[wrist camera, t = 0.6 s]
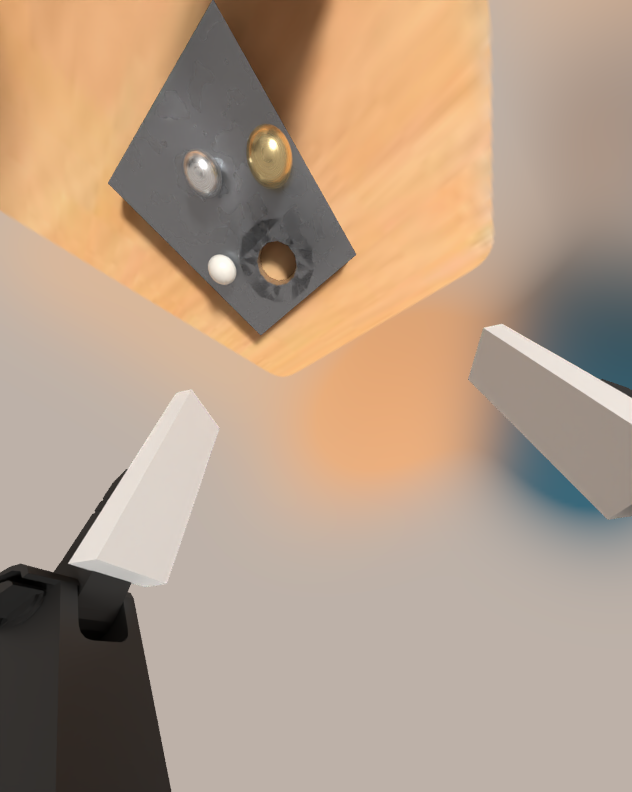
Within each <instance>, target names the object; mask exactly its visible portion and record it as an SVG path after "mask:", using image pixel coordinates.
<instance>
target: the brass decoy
mask: <svg viewBox="0 0 632 792" xmlns="http://www.w3.org/2000/svg"><path fill="white" fill-rule="evenodd" d="M246 157H247V163H248V166H249V169H250V171H251V173H252V175H253V177H254V178H255V180H256V181H257V182H258V183H259V184H260V185H262V186H263V187H265V188H268V189H277V188H280V187H281V186H283V185H284V184H285V183H286V182H287V180H288V178H289V176H290V174H291V170H292V152H291V148H290V145H289V142H288V140H287V138H286V137H285V135H284V134H283V132H282V131H281V130H280V129H279V128H277V127H276V126H274V125H271V124H261V125H259V126H257V127H256V128H254V130H253V131H252V132H251V134H250V136H249V138H248V141H247V147H246Z"/></svg>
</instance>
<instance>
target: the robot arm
mask: <svg viewBox="0 0 632 792" xmlns="http://www.w3.org/2000/svg"><path fill="white" fill-rule="evenodd" d="M468 380H469V381H470V382H471V383H472V384H473V385H474V386H475V387H476V388H477V389H478V390H479V391H480V392H481V393H482V394H483V395H484V396H485V397H486V398H487V399H488V400H489V401H490V402H491V403H492V404H493V405H494V406H495V407H496V408H497V409H498V410H499V411H500V412H501V413H502V414H503V415H504V416H505V417H506V418H507V419H508V420H509V421H510V422H511V423H512V424H513V425H514V426H515V427H516V428H517V429H518V430H519V431H520V432H521V433H522V434H523V435H524V436H525V437H526V438H527V439H528V440H529V441H530V442H531V443H533V445H534V446H535V447H536V448H537V449H538V450H539V451H540V452H541V453H542V454H543V455H544V456H545V457H546V458H547V459H548V460H549V461H550V462H551V463H552V464H553V465H554V466H555V467H556V468H557V469H558V470H559V471H560V472H561V473H562V474H563V475H564V476H565V477H566V478H567V479H568V480H569V481H570V482H571V483H572V484H573V485H574V486H575V487H576V488H577V489H578V490H579V491H580V492H581V493H582V494H583V495H584V496H585V497H586V498H587V499H588V500H589V501H590V502H591V503H592V504H593V505H594V506H595V507H596V508H597V509H598V510H599V511H600V512H601V513H602V514H603V515H604V516H605V517H606V518H607V519H615V518H622V517H628V516H632V390H630V389H629V388H626V387H623V386H621V385H618V384H615V383H612V382H609V381H606V380H603V379H601V380H599V379H597V378H596V377H594V376H592V375H591V374H589V373H587V372H585V371H584V370H582V369H580V368H578V367H577V366H575V365H573V364H571V363H570V362H568V361H566V360H564V359H563V358H561V357H559V356H557V355H556V354H554V353H552V352H550V351H549V350H547V349H545V348H543V347H542V346H540V345H538V344H536V343H534V342H533V341H531V340H529V339H527V338H525V337H524V336H522V335H521V334H519V333H517V332H515V331H514V330H512V329H510V328H508V327H507V326H505V325H503V324H500V325H494V326H490V327H485V328H483V331H482V334H481V337H480V341H479V344H478V347H477V351H476V354H475V358H474V361H473V365H472V368H471V371H470V375H469V379H468ZM218 431H219V427H218V425H217V424H216V422H215V421H214V420H213V418H212V417H211V416H210V414H209V413H208V411H207V410H206V409H205V407H204V406H203V404H202V403H201V402H200V400H199V399H198V397H197V396H196V395H195V393H194V392H193V390H192V389H191V390H186V391H182V392H177V393H176V394H175V396H174V397H173V399H172V400H171V402H170V403H169V405H168V407H167V408H166V410H165V411H164V413H163V415H162V416H161V418H160V419H159V421H158V422H157V424H156V426H155V427H154V429H153V430H152V432H151V434H150V435H149V437H148V438H147V440H146V441H145V443H144V445H143V446H142V448H141V449H140V451H139V452H138V454H137V456H136V457H135V459H134V460H133V462H132V463H131V465H130V467H129V468H128V469H126V470H125V471H124V472H123V473H122V474H121V475H120V476H119V477H118V478H117V479H116V480H115V481H114V483H112V485H111V487H110V488H109V490H108V491H107V493H106V494H105V496H104V498H103V501H101V502H100V503H99V505H98V506H97V508H96V509H95V513H94V514H92V516H91V517H90V519H89V520H88V522H87V523H86V525H85V526H84V528H83V529H82V531H81V532H80V534H79V535H78V537H77V539H76V540H75V542H74V543H73V544H72V546H71V547H70V549H69V551H68V552H67V554H66V555H65V557H64V558H63V560H62V561H61V563H60V564H59V565H58V567H57V568H56V570H55V571H54V572H50V571H46V570H42V569H38V568H35V567H31V566H27V565H23V564H18V565H15V566H11V567H9V568H7V569H6V570H4V571H2V572H1V573H0V792H171V788H170V783H169V778H168V772H167V767H166V762H165V757H164V752H163V747H162V742H161V736H160V731H159V726H158V721H157V716H156V711H155V706H154V701H153V696H152V691H151V686H150V680H149V675H148V670H147V665H146V660H145V655H144V649H143V644H142V640H141V634H140V629H139V625H138V619H137V614H136V608H135V603H134V598H133V597H132V595H131V593H128V589H129V587H130V585H131V583H133V584H137V585H140V586H143V587H147V586H155V585H162V584H167V582H168V578H169V576H170V572H171V570H172V567H173V564H174V561H175V558H176V555H177V552H178V549H179V546H180V543H181V540H182V537H183V534H184V531H185V529H186V526H187V522H188V519H189V517H190V513H191V511H192V508H193V505H194V502H195V499H196V496H197V493H198V490H199V487H200V484H201V481H202V478H203V475H204V472H205V469H206V466H207V464H208V461H209V458H210V455H211V452H212V449H213V446H214V443H215V440H216V437H217V434H218Z"/></svg>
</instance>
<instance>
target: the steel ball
mask: <svg viewBox="0 0 632 792" xmlns="http://www.w3.org/2000/svg"><path fill="white" fill-rule="evenodd" d="M183 169H184V174H185V177H186V180H187V182H188V183H189V185H190V186H191V188H192V189H193V190H194V191H195V192H196V193H198V194H199V195H201V196H204V197H214V196H216V195H217V194H218V193H219V191H220V189H221V187H222V174H221V170H220V167H219V165H218V163H217V162H216V160H215V159H214V158H213V157H212V156H211V155H210V154H209V153H208V152H206V151H205V150H202V149H198V148H195V149H191V150H190V151H188V152H187V154H186V155H185V158H184V161H183Z"/></svg>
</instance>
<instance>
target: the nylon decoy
mask: <svg viewBox="0 0 632 792" xmlns="http://www.w3.org/2000/svg"><path fill="white" fill-rule="evenodd" d="M208 272H209V274H210V276H211V278H212V279H213V280H214V281H215V282H217V283H219V284H222V285H227V284H230V283H232V282H233V281H234V279H235V277H236V267H235V265H234V263H233V261H232V260H231V259H230V258H228V257H227V256H225V255H220V254H219V255H215V256H213V257H212V258H211V259H210V260H209V262H208Z"/></svg>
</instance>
